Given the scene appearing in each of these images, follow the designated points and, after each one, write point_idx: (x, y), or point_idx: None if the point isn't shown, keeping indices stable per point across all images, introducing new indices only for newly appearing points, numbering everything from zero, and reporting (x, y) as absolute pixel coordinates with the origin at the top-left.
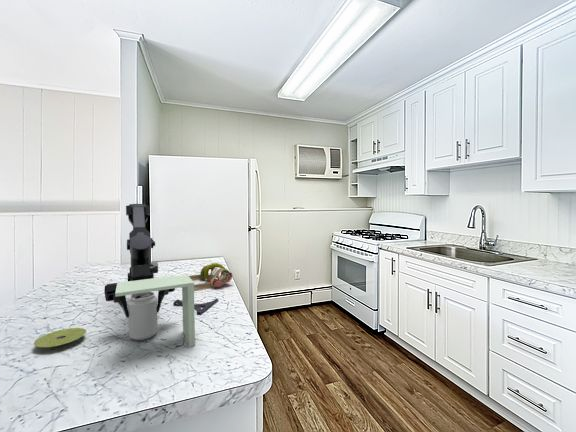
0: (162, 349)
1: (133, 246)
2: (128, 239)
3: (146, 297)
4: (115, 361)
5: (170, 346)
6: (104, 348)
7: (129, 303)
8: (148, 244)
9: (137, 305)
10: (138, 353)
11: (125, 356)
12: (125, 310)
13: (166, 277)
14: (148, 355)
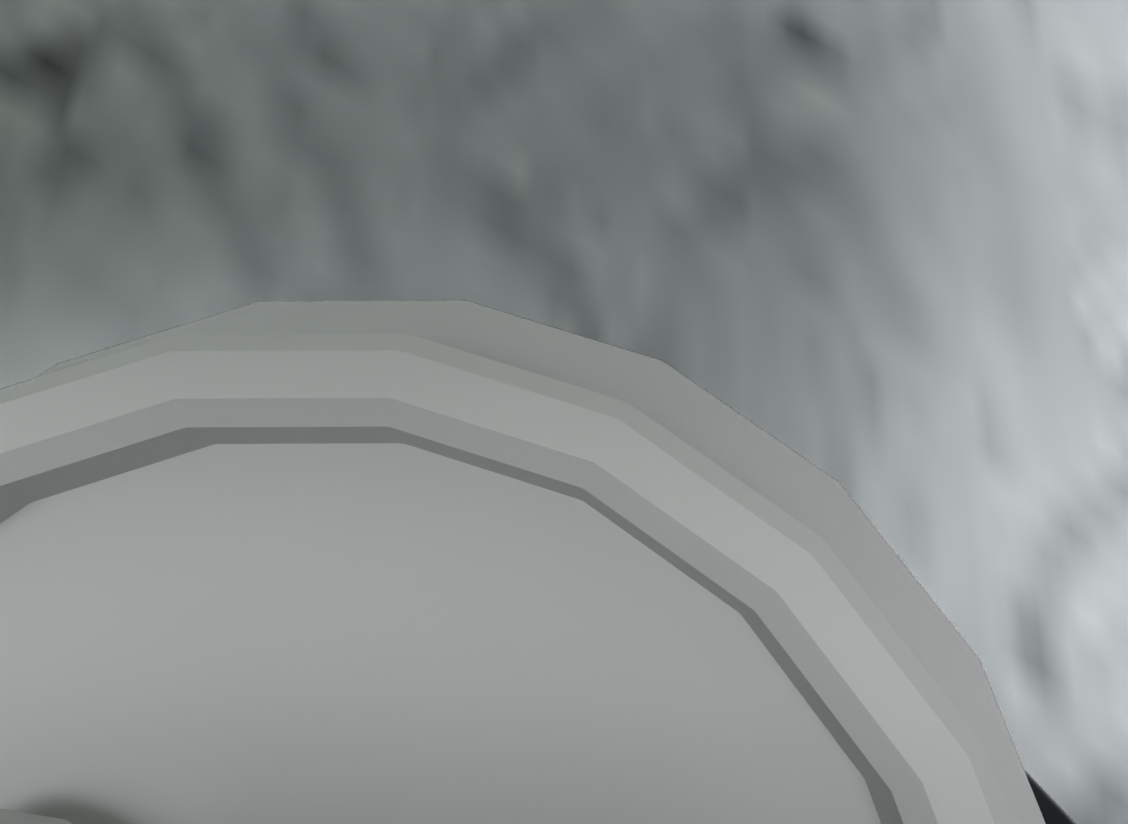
0: (278, 86)
1: None
2: None
3: (73, 802)
4: (908, 83)
5: (154, 116)
6: (1116, 622)
7: (1003, 749)
8: None
9: (626, 360)
10: (609, 148)
11: (783, 156)
12: (1042, 815)
13: None
14: (483, 15)
